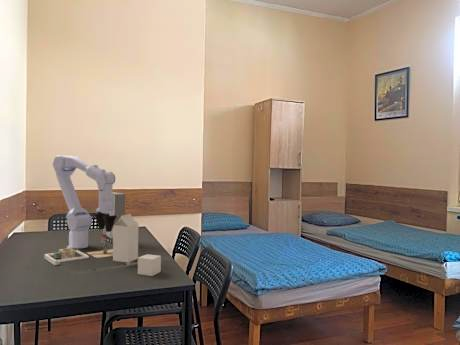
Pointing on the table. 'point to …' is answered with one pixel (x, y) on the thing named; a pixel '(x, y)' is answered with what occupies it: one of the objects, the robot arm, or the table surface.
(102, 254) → the tan base plate
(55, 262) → the tray
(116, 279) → the table surface
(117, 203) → the tall grey upright box
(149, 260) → the white cube
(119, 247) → the milk carton
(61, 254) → the collar
